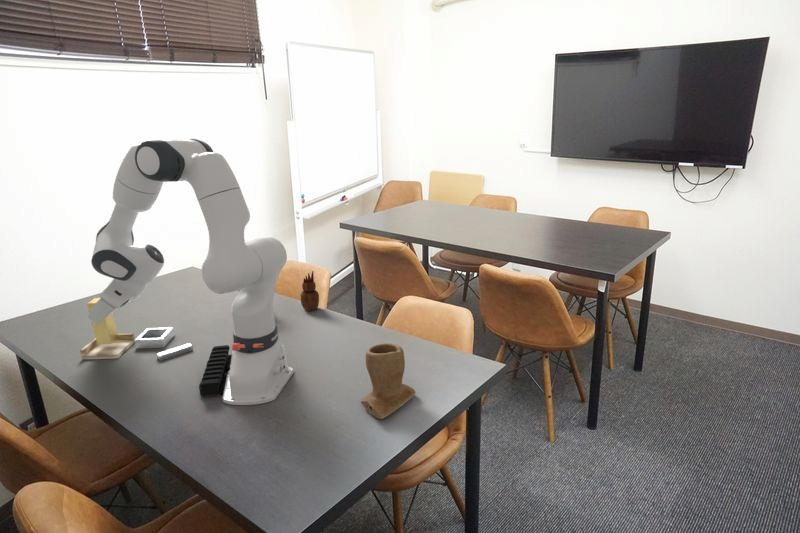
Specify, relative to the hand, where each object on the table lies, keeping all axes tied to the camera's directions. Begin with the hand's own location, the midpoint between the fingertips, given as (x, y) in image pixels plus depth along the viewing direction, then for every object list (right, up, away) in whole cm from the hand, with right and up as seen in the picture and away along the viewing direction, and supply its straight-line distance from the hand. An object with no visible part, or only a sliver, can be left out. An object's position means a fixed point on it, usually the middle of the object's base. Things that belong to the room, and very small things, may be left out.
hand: (100, 318), depth 153 cm
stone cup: (+90, -19, -26) cm, 96 cm away
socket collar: (+13, -9, +9) cm, 18 cm away
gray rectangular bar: (+24, -12, 0) cm, 26 cm away
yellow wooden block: (+1, -7, +3) cm, 8 cm away
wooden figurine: (+60, 0, +32) cm, 68 cm away
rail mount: (+42, -16, -13) cm, 47 cm away
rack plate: (+1, -11, +4) cm, 11 cm away
